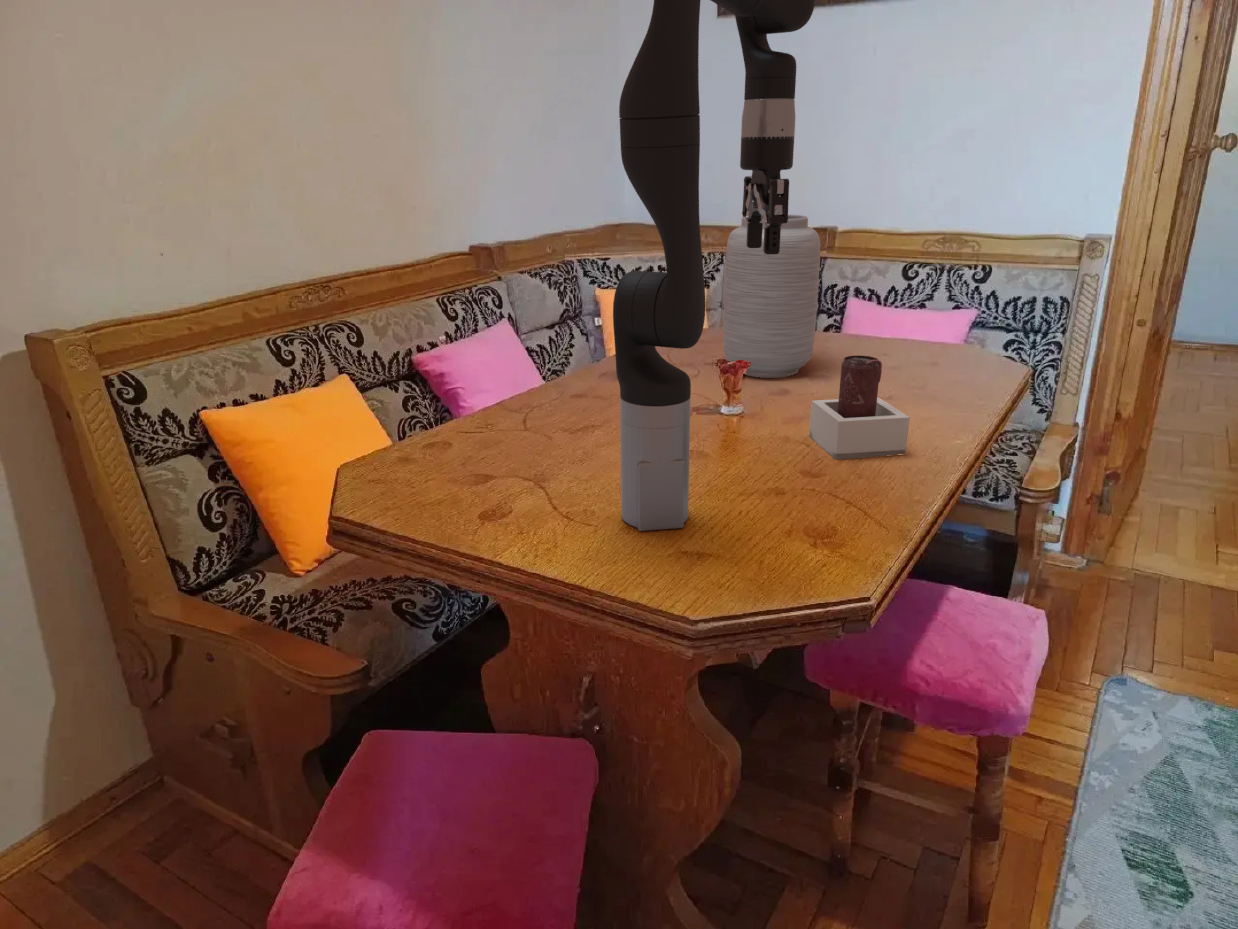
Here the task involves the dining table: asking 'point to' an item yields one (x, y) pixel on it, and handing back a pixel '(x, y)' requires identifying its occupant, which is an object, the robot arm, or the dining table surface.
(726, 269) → the vase
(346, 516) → the dining table surface
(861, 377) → the can
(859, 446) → the well
